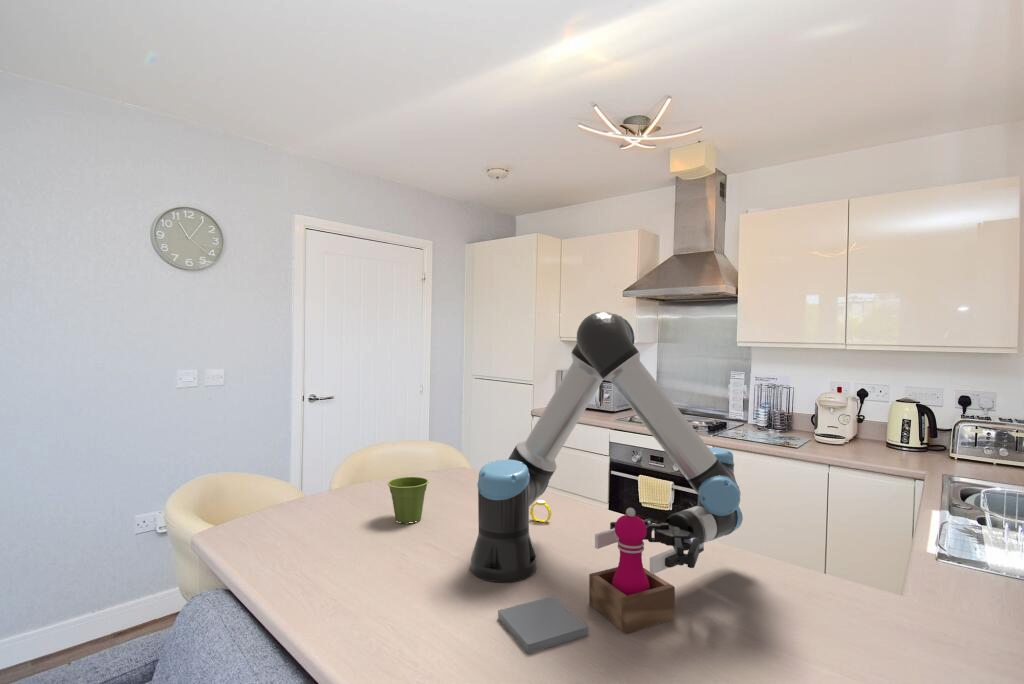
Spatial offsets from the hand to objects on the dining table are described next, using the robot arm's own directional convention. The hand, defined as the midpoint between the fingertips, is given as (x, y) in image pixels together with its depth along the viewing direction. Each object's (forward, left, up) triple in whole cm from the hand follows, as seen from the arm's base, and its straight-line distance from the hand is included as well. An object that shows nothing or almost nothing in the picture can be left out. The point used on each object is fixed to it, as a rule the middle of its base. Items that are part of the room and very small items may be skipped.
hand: (622, 553), depth 96 cm
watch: (-51, +11, -12) cm, 53 cm away
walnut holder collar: (-1, +3, -12) cm, 12 cm away
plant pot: (-69, -23, -12) cm, 74 cm away
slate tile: (-4, -15, -12) cm, 20 cm away
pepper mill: (-1, +3, -12) cm, 12 cm away
